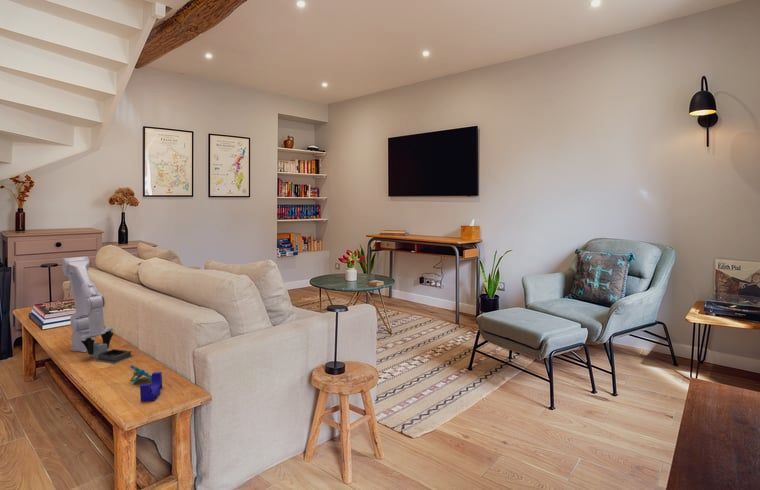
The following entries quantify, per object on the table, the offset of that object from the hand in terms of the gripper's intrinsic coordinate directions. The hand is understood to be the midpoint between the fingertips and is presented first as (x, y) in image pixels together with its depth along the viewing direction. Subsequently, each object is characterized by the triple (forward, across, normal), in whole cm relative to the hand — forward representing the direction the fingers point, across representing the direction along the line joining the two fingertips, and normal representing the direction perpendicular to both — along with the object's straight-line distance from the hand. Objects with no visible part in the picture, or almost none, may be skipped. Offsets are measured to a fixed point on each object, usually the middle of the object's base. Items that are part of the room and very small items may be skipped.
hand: (98, 351), depth 202 cm
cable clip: (+3, -22, -54) cm, 59 cm away
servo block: (+2, 0, 0) cm, 2 cm away
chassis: (+2, 0, -9) cm, 10 cm away
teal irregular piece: (+3, -15, -41) cm, 44 cm away
